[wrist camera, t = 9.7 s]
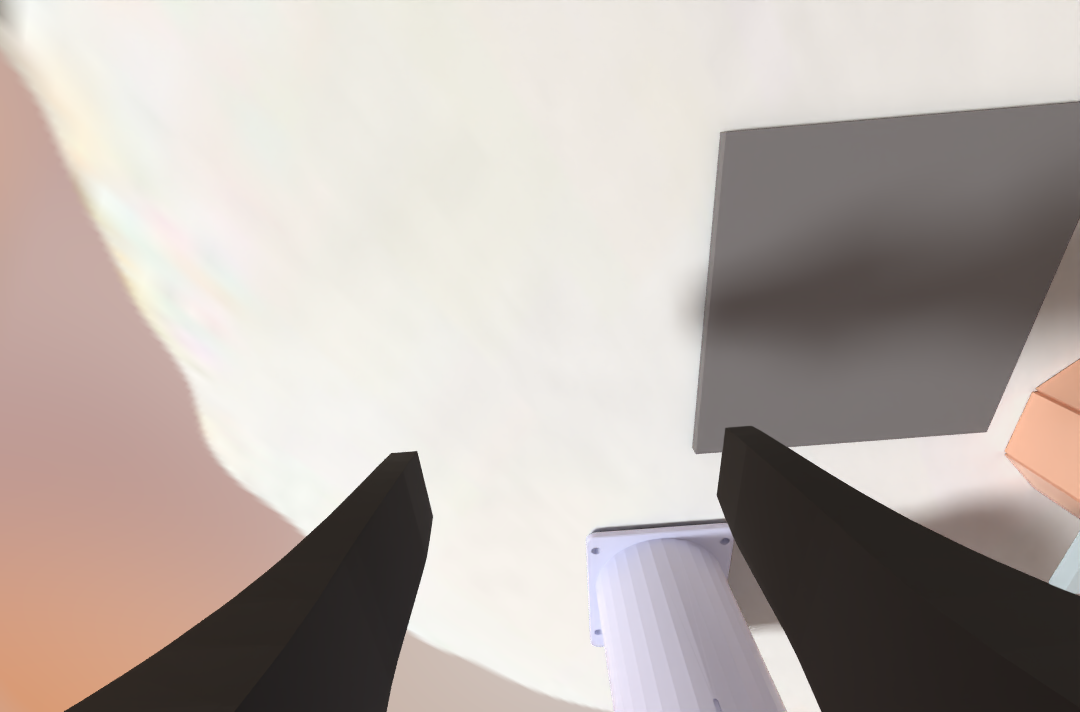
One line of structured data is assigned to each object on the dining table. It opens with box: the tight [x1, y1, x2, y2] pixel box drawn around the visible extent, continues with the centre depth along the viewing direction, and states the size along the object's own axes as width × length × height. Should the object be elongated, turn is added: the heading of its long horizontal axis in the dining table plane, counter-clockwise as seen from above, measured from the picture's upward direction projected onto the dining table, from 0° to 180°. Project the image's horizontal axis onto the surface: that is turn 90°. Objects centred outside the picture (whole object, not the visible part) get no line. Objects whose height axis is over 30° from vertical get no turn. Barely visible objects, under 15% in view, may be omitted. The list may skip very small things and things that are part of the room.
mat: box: [692, 102, 1080, 454], centre depth 19 cm, size 14×14×1 cm
